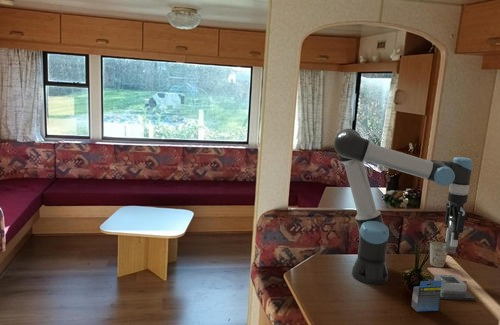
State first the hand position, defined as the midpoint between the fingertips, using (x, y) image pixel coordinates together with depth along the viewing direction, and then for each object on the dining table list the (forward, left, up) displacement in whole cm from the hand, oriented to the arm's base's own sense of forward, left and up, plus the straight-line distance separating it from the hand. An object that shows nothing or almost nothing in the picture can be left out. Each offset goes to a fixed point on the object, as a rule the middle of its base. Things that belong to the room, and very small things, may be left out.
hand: (451, 244), depth 181 cm
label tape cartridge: (-23, -30, -15) cm, 41 cm away
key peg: (0, 0, -4) cm, 4 cm away
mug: (+2, +13, -15) cm, 20 cm away
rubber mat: (0, 0, -15) cm, 15 cm away
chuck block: (-6, -15, -15) cm, 22 cm away
